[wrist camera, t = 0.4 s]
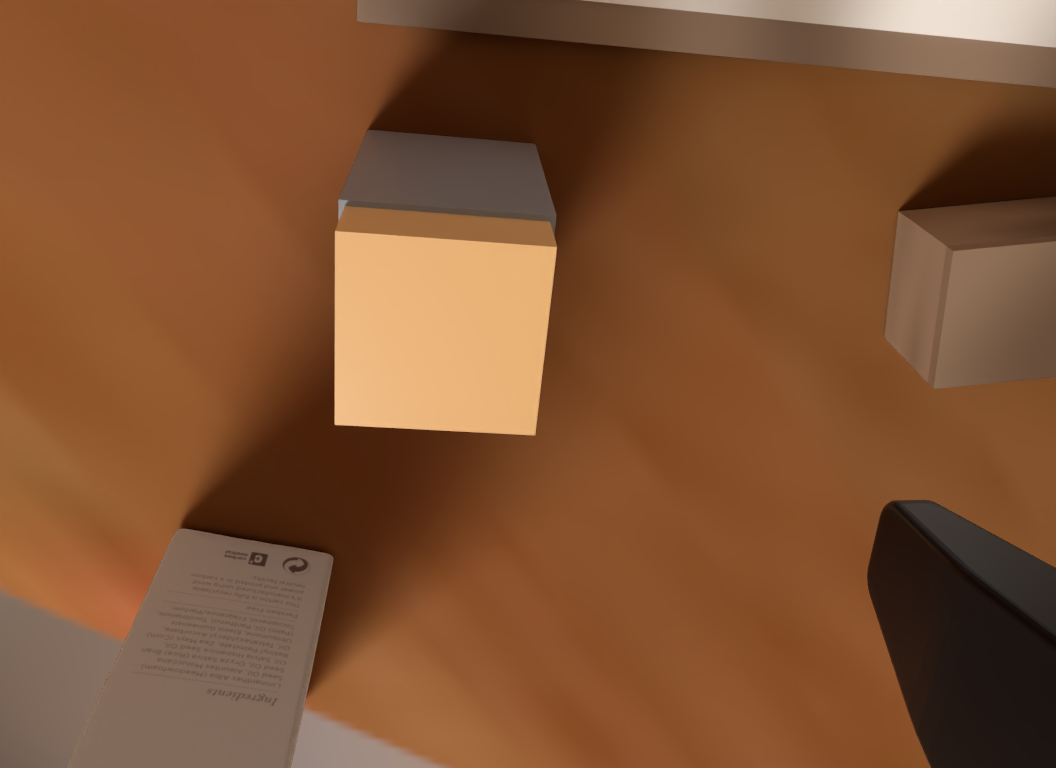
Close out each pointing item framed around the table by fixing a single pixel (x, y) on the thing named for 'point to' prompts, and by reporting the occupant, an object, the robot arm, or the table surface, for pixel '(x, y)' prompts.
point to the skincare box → (213, 659)
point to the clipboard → (777, 30)
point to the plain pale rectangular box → (975, 292)
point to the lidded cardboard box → (442, 284)
